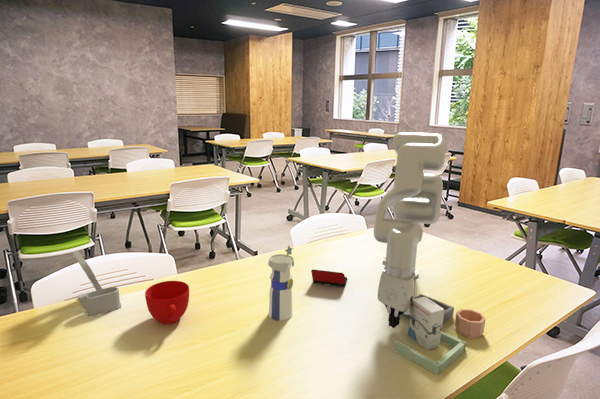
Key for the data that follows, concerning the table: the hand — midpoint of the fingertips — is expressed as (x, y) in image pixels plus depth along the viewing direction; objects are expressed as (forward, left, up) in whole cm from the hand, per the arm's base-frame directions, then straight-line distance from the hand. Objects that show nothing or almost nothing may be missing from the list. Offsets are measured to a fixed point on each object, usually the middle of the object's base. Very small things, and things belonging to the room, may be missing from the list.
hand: (393, 325), depth 116 cm
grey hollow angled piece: (-76, -61, -2) cm, 97 cm away
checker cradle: (+2, +16, -2) cm, 16 cm away
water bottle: (-30, -19, -2) cm, 36 cm away
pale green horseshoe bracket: (+12, 0, -2) cm, 12 cm away
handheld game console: (-35, +9, -2) cm, 36 cm away
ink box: (+9, +3, -2) cm, 9 cm away
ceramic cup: (-49, -48, -2) cm, 69 cm away
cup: (+15, +18, -2) cm, 23 cm away
